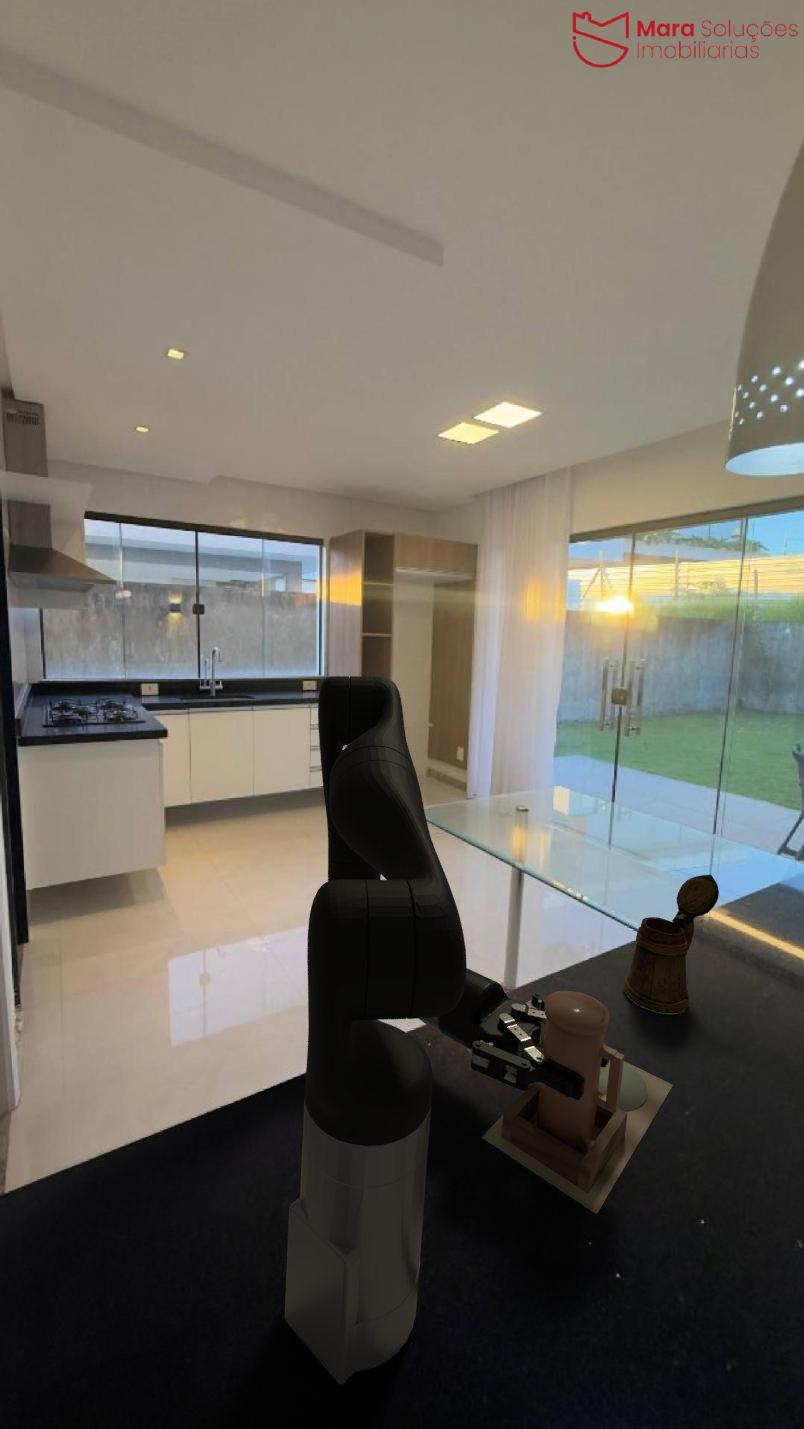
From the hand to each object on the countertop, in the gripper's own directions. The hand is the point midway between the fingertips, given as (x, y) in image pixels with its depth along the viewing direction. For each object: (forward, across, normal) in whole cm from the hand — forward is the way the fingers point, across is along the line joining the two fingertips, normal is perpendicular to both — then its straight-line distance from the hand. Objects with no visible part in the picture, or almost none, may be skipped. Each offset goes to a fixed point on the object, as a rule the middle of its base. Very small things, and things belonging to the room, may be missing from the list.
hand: (595, 1072), depth 60 cm
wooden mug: (-4, +37, +10) cm, 38 cm away
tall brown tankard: (-3, 0, +8) cm, 9 cm away
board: (-3, +5, +9) cm, 11 cm away
